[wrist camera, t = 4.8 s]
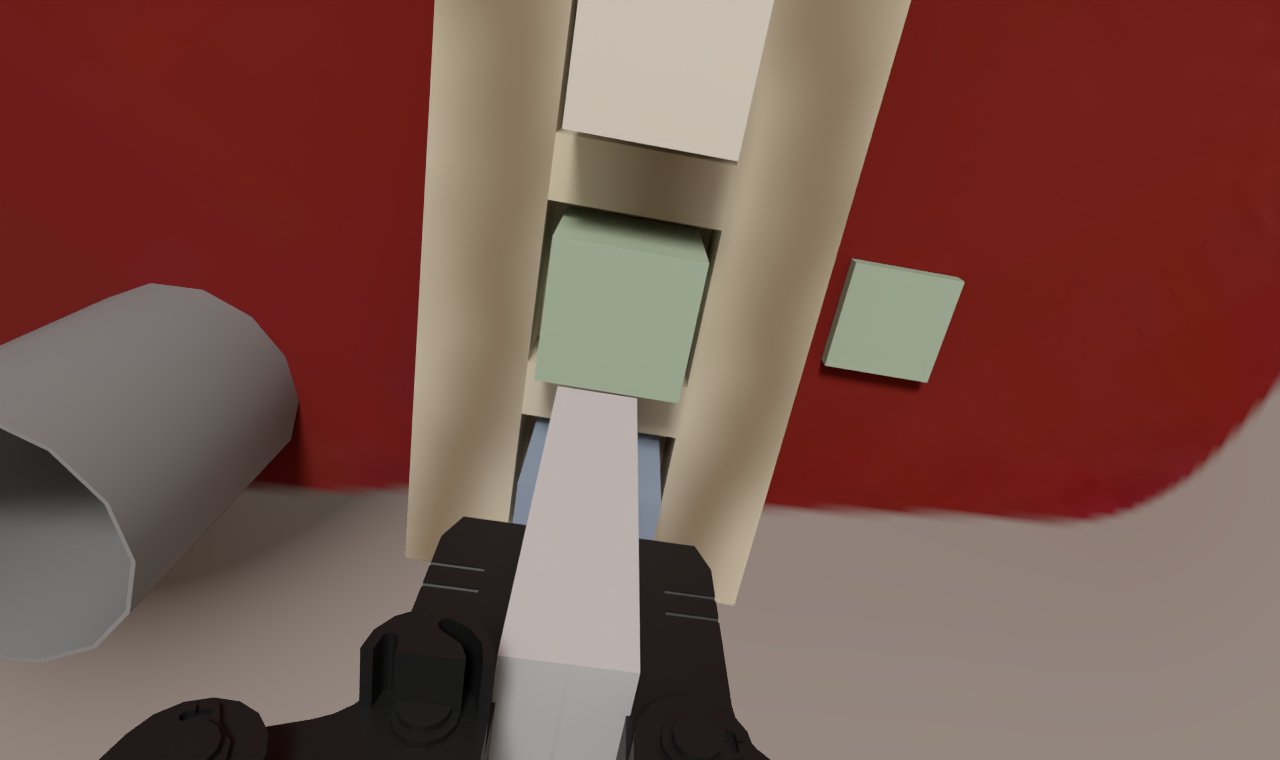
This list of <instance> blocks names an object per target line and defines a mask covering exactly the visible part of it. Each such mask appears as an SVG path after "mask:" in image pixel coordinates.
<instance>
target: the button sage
mask: <svg viewBox="0 0 1280 760" xmlns="http://www.w3.org/2000/svg"><path fill="white" fill-rule="evenodd" d="M708 267H709V261H708V258H707V255H706V251H705V248H704V245H703V242H702V239H701V235H700V232H699V229H694V228H688V227H683V226H677V225H672V224H666V223H660V222H655V221H649V220H643V219H638V218H632V217H627V216H621V215H615V214H610V213H604V212H599V211H593V210H587V209H582V208H576V207H571V206H568V207H567V209H566V211H565V213H564V215H563V217H562V219H561V221H560V223H559V224H558V226H557V228H556V230H555V232H554V234H553V236H552V244H551V251H550V259H549V267H548V275H547V283H546V291H545V299H544V306H543V314H542V322H541V330H540V338H539V346H538V354H537V361H536V369H535V377H534V380H536V381H543V382H549V383H555V384H561V385H567V386H573V387H580V388H586V389H592V390H598V391H604V392H610V393H617V394H623V395H629V396H635V397H641V398H648V399H654V400H660V401H666V402H672V403H678V404H679V399H680V394H681V390H682V385H683V381H684V376H685V372H686V367H687V363H688V358H689V354H690V349H691V344H692V340H693V335H694V331H695V326H696V322H697V317H698V313H699V308H700V304H701V299H702V294H703V290H704V285H705V281H706V276H707V272H708Z"/></svg>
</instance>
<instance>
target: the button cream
mask: <svg viewBox="0 0 1280 760" xmlns="http://www.w3.org/2000/svg"><path fill="white" fill-rule="evenodd" d="M773 3H774V0H578V5H577V13H576V21H575V29H574V37H573V45H572V53H571V61H570V69H569V77H568V85H567V93H566V101H565V109H564V117H563V125H562V129H566V130H571V131H577V132H582V133H588V134H593V135H598V136H604V137H609V138H615V139H620V140H625V141H631V142H636V143H642V144H647V145H652V146H658V147H663V148H669V149H674V150H679V151H685V152H690V153H696V154H701V155H706V156H712V157H717V158H723V159H728V160H733V161H738V160H739V155H740V151H741V146H742V142H743V137H744V133H745V129H746V124H747V120H748V115H749V111H750V106H751V102H752V97H753V93H754V88H755V84H756V79H757V75H758V70H759V66H760V61H761V57H762V52H763V48H764V43H765V39H766V35H767V30H768V26H769V21H770V17H771V12H772V8H773Z"/></svg>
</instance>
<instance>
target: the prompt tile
mask: <svg viewBox="0 0 1280 760" xmlns="http://www.w3.org/2000/svg"><path fill="white" fill-rule="evenodd" d="M963 285H964V281H963V280H961V279H960V278H958V277H954V276H948V275H942V274H937V273H931V272H926V271H920V270H914V269H909V268H903V267H897V266H892V265H886V264H881V263H875V262H869V261H864V260H858V259H851V263H850V266H849V269H848V272H847V276H846V279H845V282H844V286H843V289H842V292H841V296H840V299H839V302H838V306H837V309H836V312H835V316H834V319H833V322H832V326H831V329H830V332H829V336H828V339H827V342H826V345H825V349H824V352H823V355H822V359H821V360H822V362H823V363H824V365H825V366H830V367H836V368H842V369H848V370H854V371H860V372H866V373H872V374H878V375H884V376H890V377H896V378H902V379H908V380H914V381H920V382H926V383H927V382H928V379H929V376H930V374H931V371H932V368H933V366H934V363H935V360H936V358H937V355H938V352H939V350H940V347H941V344H942V341H943V339H944V336H945V333H946V331H947V328H948V325H949V323H950V320H951V317H952V315H953V312H954V309H955V306H956V304H957V301H958V298H959V296H960V293H961V290H962V288H963Z"/></svg>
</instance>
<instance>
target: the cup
mask: <svg viewBox="0 0 1280 760" xmlns="http://www.w3.org/2000/svg"><path fill="white" fill-rule="evenodd" d="M298 403H299V399H298V396H297V393H296V389H295V386H294V383H293V380H292V377H291V373H290V370H289V367H288V364H287V360H286V357H285V356H284V355H283V353H282V352H281V351H280V350H279V349H278V348H277V346H276V345H275V344H274V343H273V342H272V340H271V339H270V338H269V337H268V336H267V335H266V333H265V332H264V331H263V330H262V329H261V328H260V326H259V325H258V324H257V323H256V322H255V321H254V319H253V318H252V317H251V316H249V315H247V314H245V313H244V312H242V311H240V310H238V309H236V308H234V307H233V306H231V305H229V304H227V303H225V302H224V301H222V300H220V299H218V298H216V297H215V296H213V295H211V294H209V293H207V292H205V291H204V290H199V289H191V288H184V287H176V286H168V285H160V284H153V283H150V284H147V285H144V286H141V287H138V288H135V289H132V290H129V291H127V292H124V293H121V294H118V295H115V296H112V297H109V298H106V299H104V300H102V301H100V302H97V303H95V304H93V305H91V306H88V307H86V308H84V309H82V310H79V311H77V312H75V313H73V314H70V315H68V316H66V317H64V318H61V319H59V320H57V321H55V322H52V323H50V324H48V325H46V326H43V327H41V328H39V329H37V330H34V331H32V332H30V333H28V334H25V335H23V336H21V337H19V338H16V339H14V340H12V341H10V342H8V343H5V344H3V345H1V346H0V659H5V660H15V661H25V662H34V663H42V662H46V661H50V660H53V659H57V658H61V657H65V656H68V655H72V654H76V653H80V652H83V651H87V650H91V649H94V648H96V647H97V646H98V645H99V644H100V643H101V642H102V641H103V640H104V639H105V638H106V637H107V636H108V635H109V634H110V633H111V632H112V631H113V630H114V629H115V628H116V627H117V626H118V625H119V624H120V623H121V621H123V619H124V618H125V617H126V616H127V615H128V614H129V613H130V612H131V611H132V610H133V609H134V608H135V607H136V606H137V605H138V604H139V602H140V601H141V600H142V599H143V598H144V597H145V596H146V595H147V594H148V593H149V592H150V591H151V590H152V589H153V587H154V586H155V585H156V584H157V583H158V582H159V581H160V580H161V579H162V578H163V577H164V576H165V575H166V574H167V572H168V571H169V570H170V569H171V568H172V567H173V566H174V565H175V564H176V563H177V562H178V561H179V559H180V558H181V557H182V556H183V555H184V554H185V553H186V552H187V551H188V550H189V549H190V548H191V547H192V546H193V545H194V543H195V542H196V541H197V540H198V539H199V538H200V537H201V536H202V535H203V534H204V533H205V532H206V531H207V529H208V528H209V527H210V526H211V525H212V524H213V523H214V522H215V521H216V520H217V519H218V518H219V517H220V515H221V514H222V513H223V512H224V511H225V510H226V509H227V508H228V507H229V505H231V503H232V502H233V501H234V500H235V499H236V498H237V497H238V496H239V495H240V494H241V493H242V492H243V491H244V490H245V489H246V488H247V486H248V485H249V484H250V483H251V482H252V481H253V480H254V479H255V478H256V477H257V476H258V475H259V474H260V472H261V471H262V470H263V469H264V468H265V467H266V466H267V465H268V464H269V463H270V462H271V461H272V460H273V458H274V457H275V456H276V455H277V454H278V453H279V452H280V451H281V450H282V449H283V448H284V447H285V446H286V444H287V443H288V442H289V441H290V440H291V437H292V432H293V427H294V422H295V418H296V413H297V408H298Z"/></svg>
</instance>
